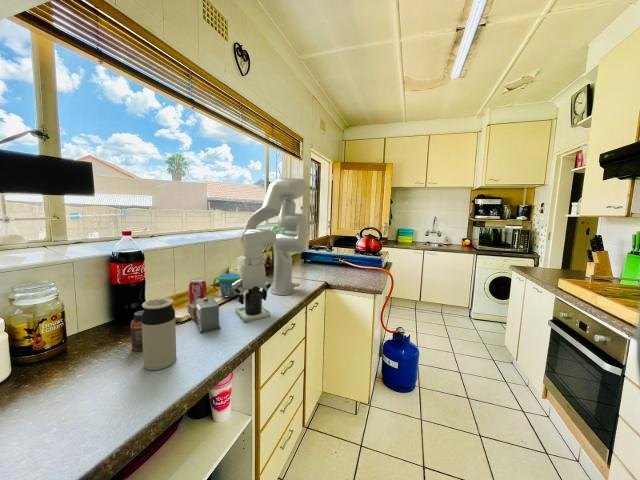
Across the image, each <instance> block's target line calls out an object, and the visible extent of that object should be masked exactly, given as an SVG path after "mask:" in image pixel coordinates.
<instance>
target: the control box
mask: <svg viewBox="0 0 640 480" xmlns="http://www.w3.org/2000/svg"><path fill="white" fill-rule="evenodd" d="M196 316H197V319H196V320H194V323H195V325H196V328H197V329H198V332H199V333H200V334H203V333H208V332H213V331H217V330H221V329H222V328H221V326H220V305H219V304H218V302H217V301H216V299H215V298H214V296H208V297H207V296H206V297H205V298H201V299H196Z"/></svg>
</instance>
